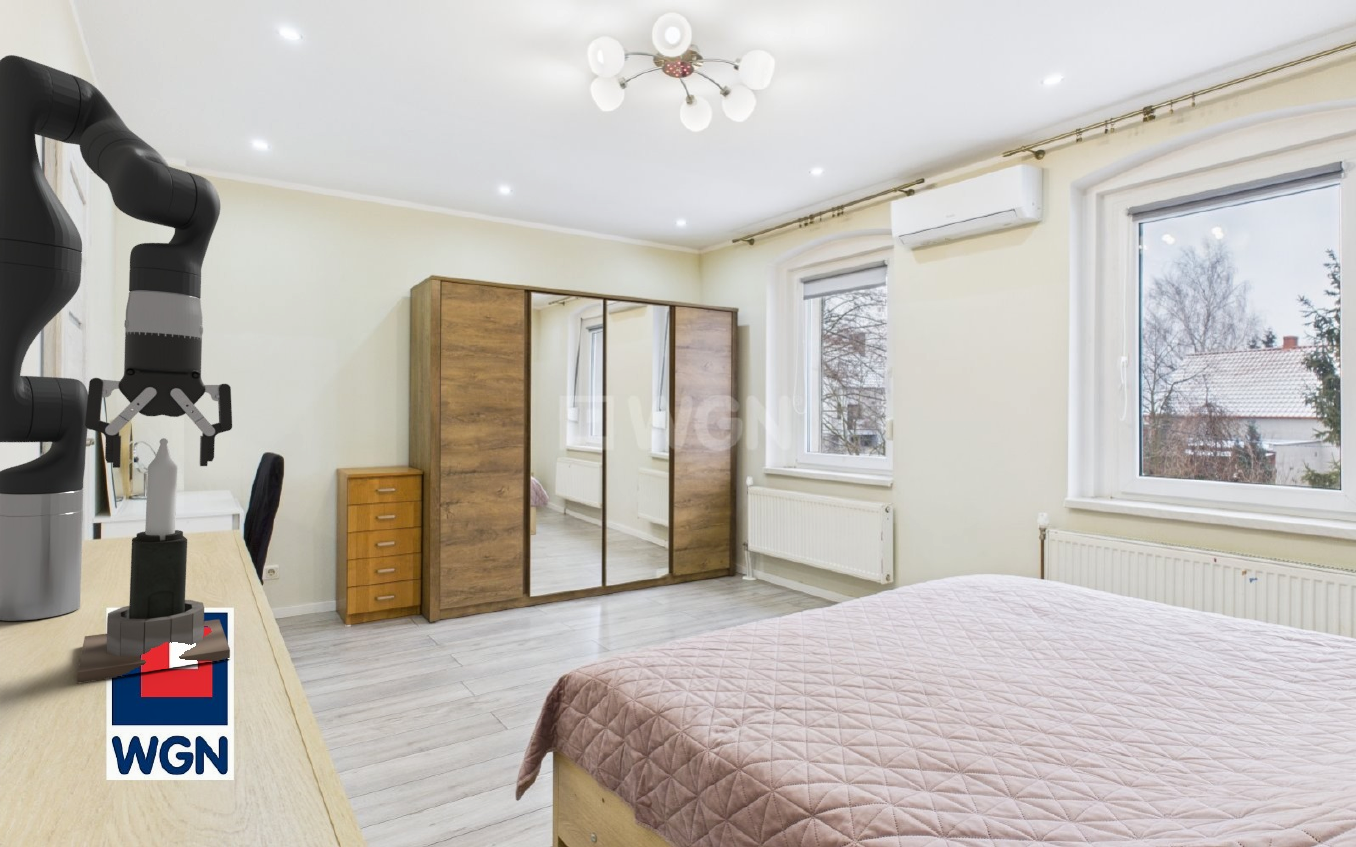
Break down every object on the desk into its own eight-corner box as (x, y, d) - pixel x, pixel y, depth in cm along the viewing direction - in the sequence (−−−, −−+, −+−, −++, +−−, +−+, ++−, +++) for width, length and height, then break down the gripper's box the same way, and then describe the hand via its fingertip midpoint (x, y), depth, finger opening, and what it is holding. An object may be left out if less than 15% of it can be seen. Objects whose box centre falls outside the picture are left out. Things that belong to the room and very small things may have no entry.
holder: (84, 645, 87) (85, 604, 87) (219, 628, 96) (220, 590, 95) (76, 683, 76) (78, 635, 76) (229, 659, 84) (230, 616, 84)
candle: (177, 632, 89) (184, 437, 89) (185, 643, 86) (193, 439, 85) (126, 640, 86) (134, 436, 85) (132, 652, 82) (141, 439, 82)
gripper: (230, 340, 92) (227, 463, 93) (89, 329, 84) (86, 464, 84) (237, 336, 86) (233, 468, 87) (86, 324, 78) (82, 470, 78)
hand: (161, 466), depth 85 cm, fingers open, 8 cm apart
